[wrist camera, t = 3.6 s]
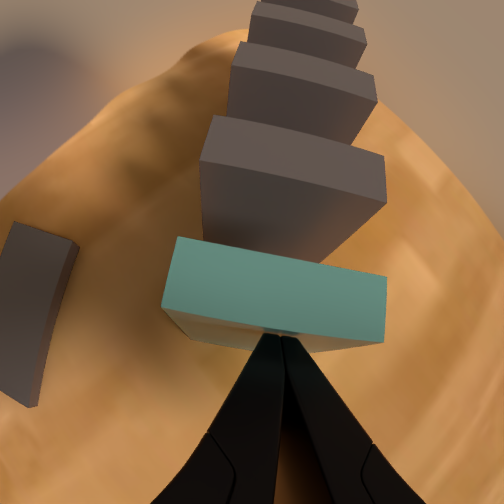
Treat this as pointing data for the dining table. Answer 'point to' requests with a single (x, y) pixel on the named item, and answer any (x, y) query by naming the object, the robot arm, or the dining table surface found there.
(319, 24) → the domino
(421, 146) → the dining table surface
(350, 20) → the domino
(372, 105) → the domino
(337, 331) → the domino
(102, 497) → the dining table surface
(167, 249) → the dining table surface
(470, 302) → the dining table surface
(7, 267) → the domino
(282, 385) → the robot arm
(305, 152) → the domino
